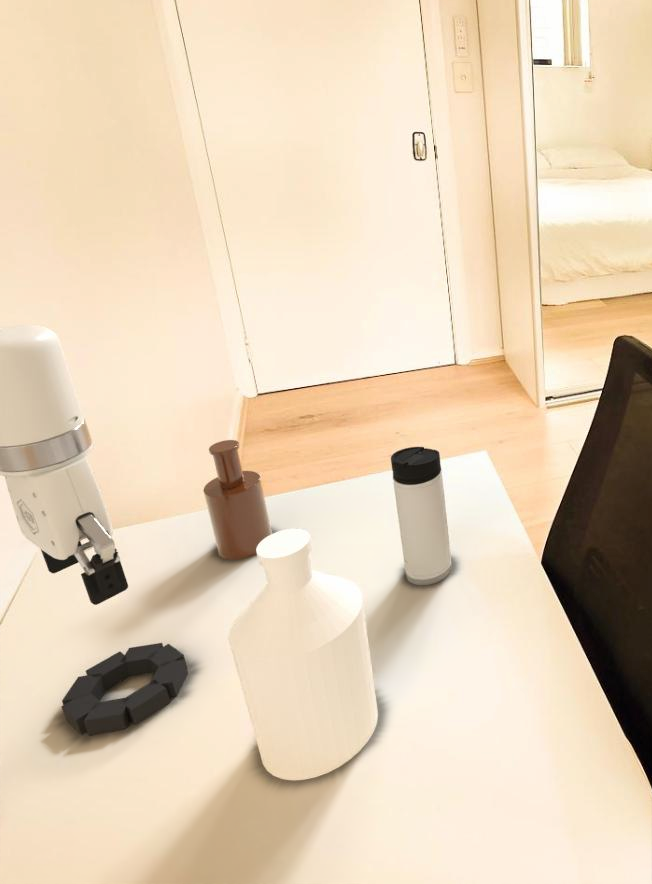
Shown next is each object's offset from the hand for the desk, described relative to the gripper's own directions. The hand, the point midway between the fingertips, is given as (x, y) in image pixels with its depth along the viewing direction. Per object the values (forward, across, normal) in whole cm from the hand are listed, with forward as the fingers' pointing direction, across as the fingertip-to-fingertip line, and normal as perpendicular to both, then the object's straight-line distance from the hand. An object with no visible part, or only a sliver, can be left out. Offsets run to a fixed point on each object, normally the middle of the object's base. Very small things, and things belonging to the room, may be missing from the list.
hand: (88, 580), depth 76 cm
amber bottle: (+14, -12, +21) cm, 28 cm away
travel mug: (+15, +16, +31) cm, 38 cm away
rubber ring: (+14, +4, -1) cm, 15 cm away
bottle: (+15, +27, +7) cm, 31 cm away
